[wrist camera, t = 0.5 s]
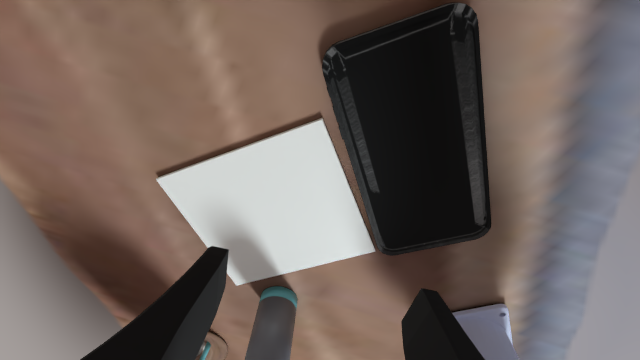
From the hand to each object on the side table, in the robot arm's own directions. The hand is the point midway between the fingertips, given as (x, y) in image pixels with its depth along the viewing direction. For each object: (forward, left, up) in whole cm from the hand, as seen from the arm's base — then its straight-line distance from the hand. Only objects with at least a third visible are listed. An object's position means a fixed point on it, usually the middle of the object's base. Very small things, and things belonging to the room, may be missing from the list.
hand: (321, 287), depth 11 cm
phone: (-1, -5, -10) cm, 12 cm away
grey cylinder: (-11, +9, -10) cm, 17 cm away
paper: (-2, +5, -10) cm, 11 cm away
